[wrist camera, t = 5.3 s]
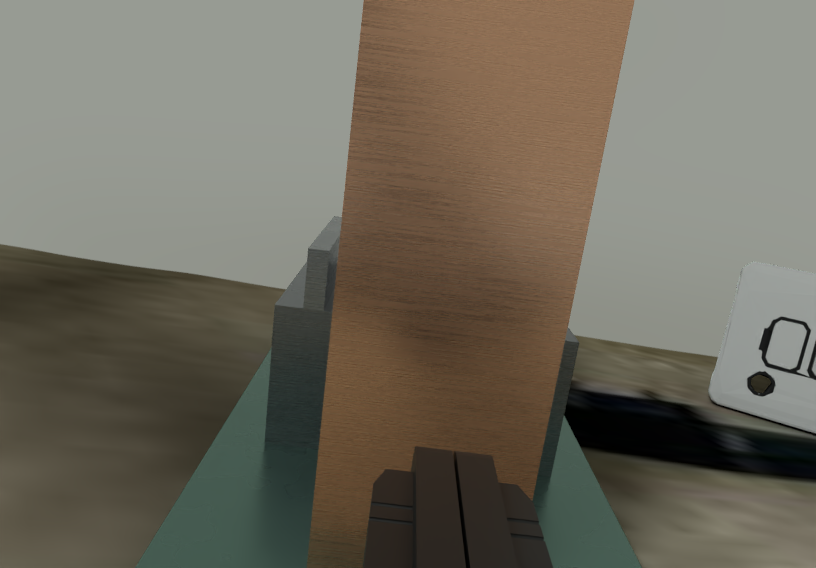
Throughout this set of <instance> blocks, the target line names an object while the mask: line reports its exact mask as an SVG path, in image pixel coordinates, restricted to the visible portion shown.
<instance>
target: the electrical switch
mask: <svg viewBox="0 0 816 568" xmlns="http://www.w3.org/2000/svg"><path fill="white" fill-rule="evenodd" d="M756 375H763V376H765V377H767V378H769V379H770V380H771V384H770V385H769V386H768V388H767V389H766V390H765V392H764V393H757V392H756V391H754V389H753V387H752V386H751V378H753V377H754V376H756ZM708 393H709V396H710V398H711V400H712V401H713V402H715V403H717V404H719V405H722V406H726V407H729V408H732V409H735V410H739V411H742V412H745V413H749V414H752V415H755V416H759V417H762V418H765V419H769V420H772V421H775V422H778V423H782V424H785V425H788V426H792V427H795V428H798V429H802V430H805V431H808V432H812V433H815V434H816V274H815V273H810V272H805V271H800V270H795V269H790V268H784V267H780V266H775V265H769V264H764V263H759V262H752V263H749V264H747V265H746V266H745V267H744V268H743V269H742V270H741V274H740V278H739V281H738V284H737V292H736V295H735V299H734V302H733V306H732V309H731V313H730V317H729V320H728V324H727V327H726V331H725V335H724V338H723V342H722V346H721V349H720V352H719V356H718V360H717V363H716V367H715V370H714V372H713V374H712V378H711V382H710V385H709V389H708Z"/></svg>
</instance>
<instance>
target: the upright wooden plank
mask: <svg viewBox="0 0 816 568" xmlns="http://www.w3.org/2000/svg"><path fill="white" fill-rule="evenodd" d="M633 5H634V0H364V4H363V14H362V23H361V33H360V44H359V53H358V63H357V73H356V83H355V93H354V103H353V113H352V123H351V133H350V143H349V152H348V162H347V172H346V182H345V192H344V202H343V212H342V222H341V232H340V242H339V252H338V262H337V271H336V281H335V291H334V301H333V311H332V321H331V331H330V341H329V351H328V361H327V371H326V381H325V391H324V400H323V410H322V420H321V430H320V440H319V450H318V460H317V470H316V480H315V490H314V500H313V510H312V520H311V529H310V539H309V549H308V559H307V568H363V560H364V551H365V543H366V536H367V528H368V520H369V513H370V505H371V498H372V490H373V483H374V482H375V481H376V480H377V478H378V477H379V476H380V475H381V474H382V473H383V472H384V471H385V469H391V470H400V471H408V472H411V467H412V460H413V454H414V449H415V446H419V447H427V448H436V449H444V450H452V452H453V453H454V451H461V452H469V453H478V454H486V455H492V457H493V460H494V465H495V469H496V473H497V478H498V482H500V483H509V484H517V485H518V486H519V487H520V488H521V489H522V490H523V491H524V493H525V494H526V495H527V496H528V497H529V498H530V499H531V500H533V495H534V490H535V485H536V480H537V475H538V470H539V466H540V461H541V456H542V451H543V446H544V441H545V436H546V431H547V426H548V421H549V417H550V412H551V407H552V402H553V397H554V392H555V387H556V382H557V377H558V372H559V368H560V363H561V358H562V353H563V348H564V343H565V338H566V333H567V328H568V323H569V318H570V313H571V308H572V303H573V299H574V294H575V288H576V284H577V279H578V274H579V269H580V265H581V259H582V255H583V250H584V245H585V240H586V235H587V230H588V225H589V220H590V216H591V210H592V206H593V201H594V196H595V191H596V186H597V181H598V176H599V171H600V166H601V162H602V157H603V152H604V147H605V142H606V137H607V132H608V127H609V122H610V117H611V112H612V108H613V103H614V98H615V93H616V88H617V83H618V78H619V73H620V68H621V64H622V59H623V53H624V49H625V44H626V39H627V34H628V29H629V24H630V20H631V15H632V9H633Z"/></svg>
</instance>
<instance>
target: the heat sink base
mask: <svg viewBox="0 0 816 568" xmlns="http://www.w3.org/2000/svg"><path fill="white" fill-rule="evenodd" d="M341 222H342V217H335V216H334V217H333V218H332V220H331V221H330V222H329V223H328V225H327V226H326V227H325V228H324V230H323V231H322V232H321V234H320V235H319V236H318V237H317V238H316V240H315V241H314V242H313V243H312V245H311V246H310V247H309V248H308V258H307V262H306V264H305V265H304V266H303V268H302V269H301V270H300V272H299V273H298V274H297V276H296V277H295V278H294V280H293V281H292V282H291V284H290V285H289V287H288V288H287V289H286V291H285V292H284V293H283V295H282V296H281V297H280V299H279V300H278V301H277V303H276V304H275V310H274V323H273V336H272V348H271V349H270V351H269V352H268V354H267V356H266V357H265V359H264V361H263V362H262V364H261V365H260V367H259V369H258V370H257V372H256V373H255V375H254V377H253V378H252V380H251V381H250V383H249V385H248V386H247V388H246V390H245V391H244V393H243V394H242V396H241V398H240V399H239V401H238V402H237V404H236V406H235V407H234V409H233V411H232V412H231V414H230V415H229V417H228V419H227V420H226V422H225V423H224V425H223V427H222V428H221V430H220V432H219V433H218V435H217V436H216V438H215V440H214V441H213V443H212V444H211V446H210V448H209V449H208V451H207V453H206V454H205V456H204V457H203V459H202V461H201V462H200V464H199V465H198V467H197V469H196V470H195V472H194V474H193V475H192V477H191V478H190V480H189V482H188V483H187V485H186V486H185V488H184V490H183V491H182V493H181V495H180V496H179V498H178V499H177V501H176V503H175V504H174V506H173V507H172V509H171V511H170V512H169V514H168V516H167V517H166V519H165V520H164V522H163V524H162V525H161V527H160V528H159V530H158V532H157V533H156V535H155V536H154V538H153V540H152V541H151V543H150V545H149V546H148V548H147V549H146V551H145V553H144V554H143V556H142V557H141V559H140V561H139V562H138V564H137V566H136V567H135V568H307V559H308V549H309V539H310V529H311V520H312V510H313V500H314V490H315V480H316V470H317V460H318V450H319V440H320V430H321V420H322V410H323V400H324V391H325V381H326V371H327V361H328V351H329V341H330V331H331V321H332V311H333V301H334V291H335V281H336V271H337V262H338V252H339V242H340V232H341ZM578 346H579V341H578V340H577V339H576V337H575V336H574V335H573V333H572V332H571V331H570V329H569V328H567V333H566V338H565V343H564V348H563V353H562V358H561V363H560V368H559V372H558V377H557V382H556V387H555V392H554V397H553V402H552V407H551V412H550V417H549V421H548V426H547V431H546V436H545V441H544V446H543V451H542V456H541V461H540V466H539V470H538V475H537V480H536V485H535V490H534V495H533V500H532V502H533V503H534V507H535V510H536V513H537V517H538V520H539V525H540V526H541V530H542V533H543V536H544V541H545V543H546V546H547V549H548V552H549V556H550V559H551V562H552V565H553V568H642V567H641V565H640V563H639V561H638V559H637V557H636V555H635V554H634V552H633V550H632V548H631V546H630V544H629V542H628V540H627V538H626V536H625V534H624V532H623V530H622V528H621V526H620V524H619V522H618V520H617V518H616V516H615V514H614V512H613V510H612V508H611V507H610V505H609V503H608V501H607V499H606V497H605V495H604V493H603V491H602V489H601V487H600V485H599V483H598V481H597V479H596V477H595V475H594V473H593V471H592V469H591V467H590V465H589V463H588V461H587V459H586V458H585V456H584V454H583V452H582V450H581V448H580V446H579V444H578V442H577V440H576V438H575V436H574V434H573V432H572V430H571V428H570V426H569V424H568V422H567V420H566V418H565V416H564V413H565V408H566V403H567V398H568V394H569V389H570V384H571V379H572V375H573V370H574V365H575V360H576V356H577V351H578Z"/></svg>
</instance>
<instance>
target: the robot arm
mask: <svg viewBox="0 0 816 568" xmlns="http://www.w3.org/2000/svg"><path fill="white" fill-rule="evenodd" d="M363 568H553V565H552V562H551V559H550V556H549V552H548V549H547V546H546V543H545V541H544V536H543V533H542V530H541V526H540V525H539V520H538V517H537V513H536V510H535V507H534V503H533V502H532V500H531V499H530V498H529V497H528V496H527V495H526V494H525V493H524V491H523V490H522V489H521V488H520V487H519V486H518V485H517V484H509V483H500V482H498V478H497V473H496V469H495V465H494V460H493V457H492V455H486V454H478V453H469V452H461V451H454V453H453V452H452V450H444V449H436V448H427V447H419V446H415V449H414V454H413V460H412V467H411V472H408V471H400V470H391V469H385V471H384V472H383V473H382V474H381V475H380V476H379V477H378V478H377V480H376V481H375V482H374V483H373V490H372V498H371V505H370V513H369V520H368V528H367V536H366V543H365V551H364V560H363Z"/></svg>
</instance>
